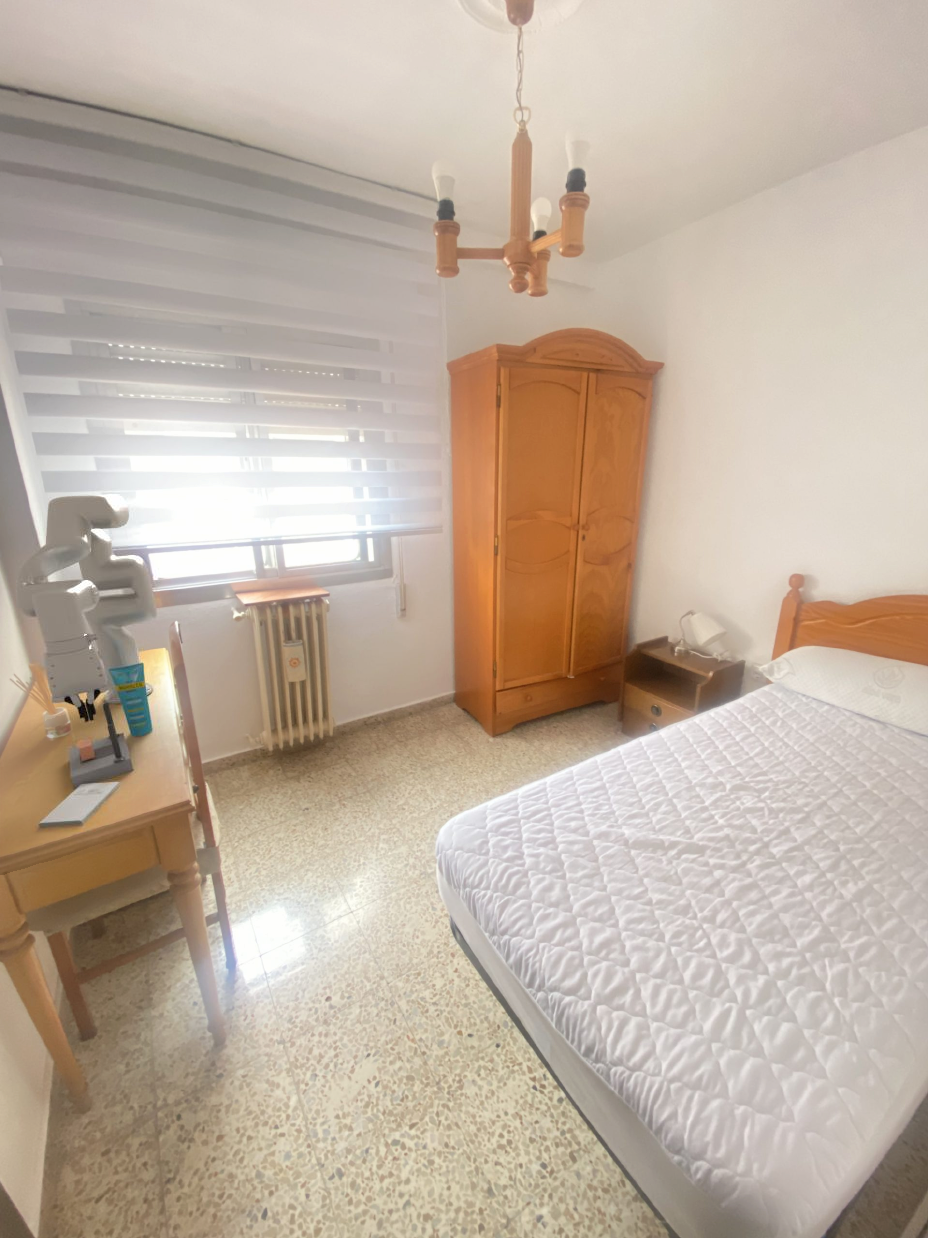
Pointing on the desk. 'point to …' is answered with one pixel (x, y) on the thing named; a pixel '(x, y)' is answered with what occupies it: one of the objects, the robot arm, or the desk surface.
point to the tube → (133, 697)
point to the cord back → (108, 714)
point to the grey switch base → (99, 762)
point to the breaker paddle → (86, 749)
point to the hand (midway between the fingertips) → (89, 718)
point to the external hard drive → (79, 804)
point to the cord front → (114, 741)
